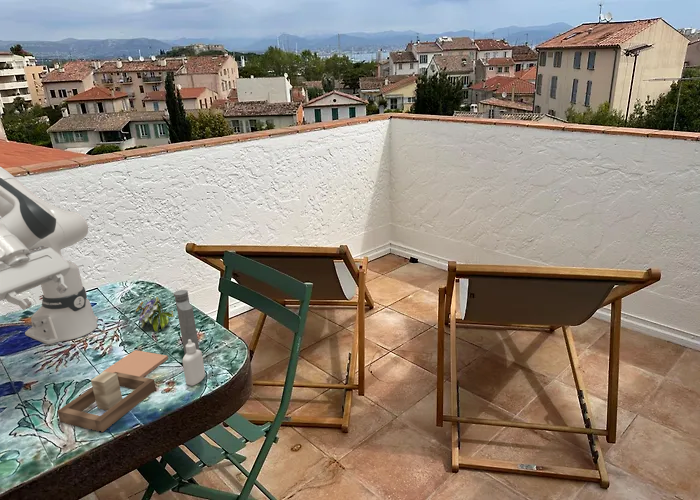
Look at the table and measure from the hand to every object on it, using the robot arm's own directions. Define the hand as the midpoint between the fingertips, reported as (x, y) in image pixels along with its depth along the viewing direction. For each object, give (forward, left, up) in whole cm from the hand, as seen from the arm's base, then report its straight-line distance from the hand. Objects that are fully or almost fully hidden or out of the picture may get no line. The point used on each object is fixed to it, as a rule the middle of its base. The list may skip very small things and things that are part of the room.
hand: (47, 298), depth 108 cm
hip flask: (+16, +26, -27) cm, 41 cm away
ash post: (+12, 0, -27) cm, 30 cm away
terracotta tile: (+5, +16, -27) cm, 32 cm away
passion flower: (-8, +39, -27) cm, 48 cm away
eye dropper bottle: (+26, +15, -27) cm, 41 cm away
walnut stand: (+12, 0, -27) cm, 30 cm away
